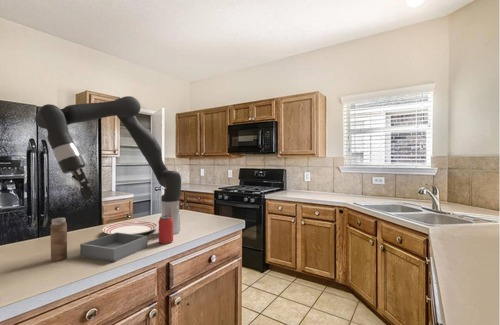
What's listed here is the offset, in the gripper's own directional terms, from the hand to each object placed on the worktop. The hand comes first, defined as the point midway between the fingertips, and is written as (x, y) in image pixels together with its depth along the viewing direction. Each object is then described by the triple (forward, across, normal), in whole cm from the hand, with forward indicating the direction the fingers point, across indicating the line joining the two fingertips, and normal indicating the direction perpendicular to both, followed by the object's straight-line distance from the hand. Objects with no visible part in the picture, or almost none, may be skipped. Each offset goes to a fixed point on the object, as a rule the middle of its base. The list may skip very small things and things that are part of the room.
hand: (88, 197), depth 97 cm
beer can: (+33, +14, -22) cm, 42 cm away
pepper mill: (+17, +18, +16) cm, 30 cm away
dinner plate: (+24, +42, -16) cm, 51 cm away
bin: (+25, +14, -2) cm, 29 cm away
